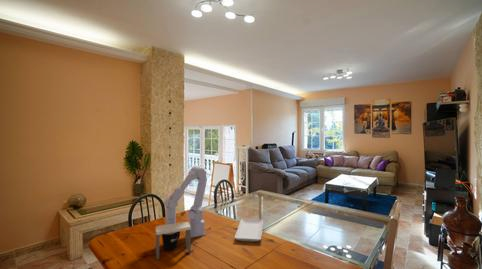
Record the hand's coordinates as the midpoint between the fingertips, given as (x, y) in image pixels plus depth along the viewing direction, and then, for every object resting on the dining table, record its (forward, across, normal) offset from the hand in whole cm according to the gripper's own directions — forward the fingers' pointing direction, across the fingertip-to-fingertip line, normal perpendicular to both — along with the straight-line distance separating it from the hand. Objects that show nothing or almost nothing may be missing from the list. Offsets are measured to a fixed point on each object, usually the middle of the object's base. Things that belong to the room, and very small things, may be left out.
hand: (170, 240), depth 138 cm
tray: (+2, -51, +5) cm, 51 cm away
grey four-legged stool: (+2, 0, +12) cm, 13 cm away
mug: (+2, 0, +6) cm, 6 cm away
